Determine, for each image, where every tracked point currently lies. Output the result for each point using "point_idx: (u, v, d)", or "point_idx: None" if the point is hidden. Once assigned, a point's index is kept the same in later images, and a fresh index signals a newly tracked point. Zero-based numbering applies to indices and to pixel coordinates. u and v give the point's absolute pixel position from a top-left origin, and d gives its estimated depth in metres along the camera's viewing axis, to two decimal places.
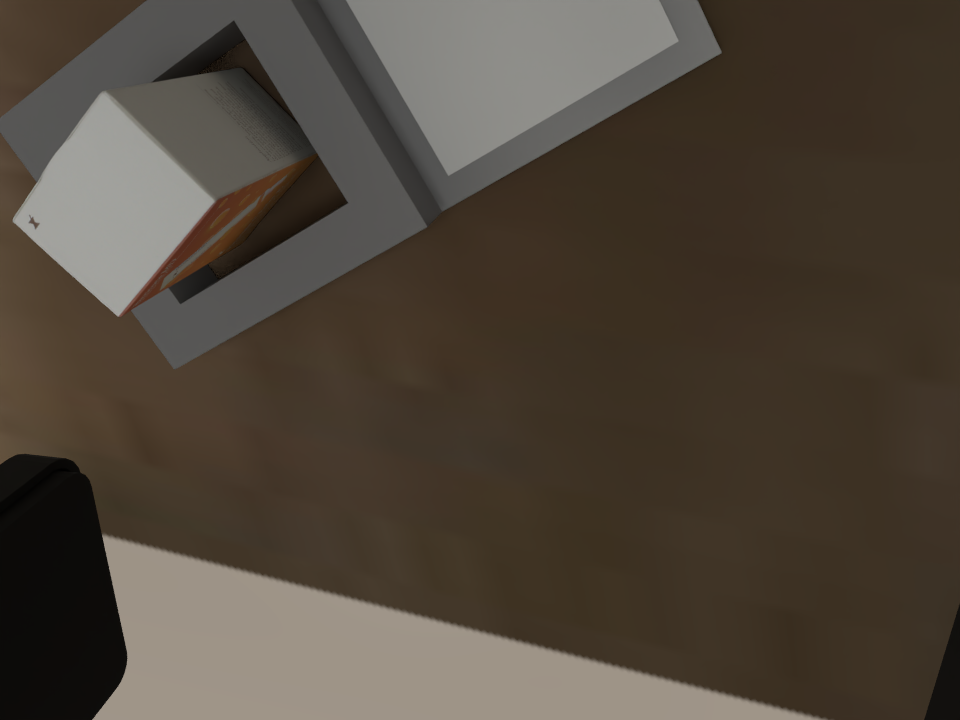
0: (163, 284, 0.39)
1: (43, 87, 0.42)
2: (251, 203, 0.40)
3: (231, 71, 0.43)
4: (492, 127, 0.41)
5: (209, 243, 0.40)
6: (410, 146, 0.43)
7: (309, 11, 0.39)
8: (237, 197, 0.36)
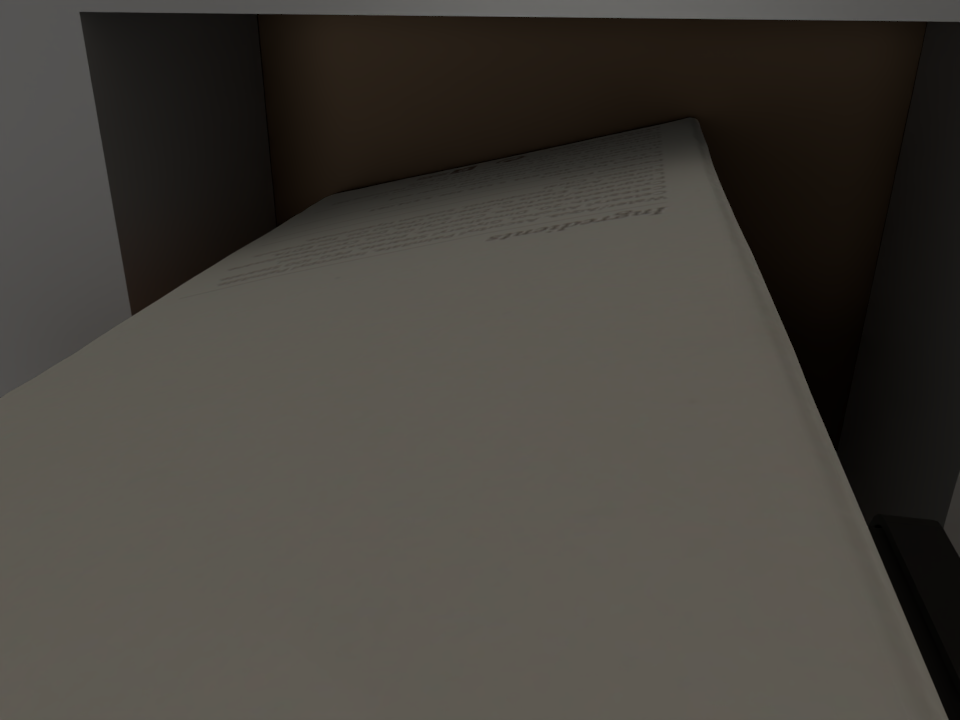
0: None
1: None
2: None
3: None
4: None
5: None
6: None
7: None
8: None
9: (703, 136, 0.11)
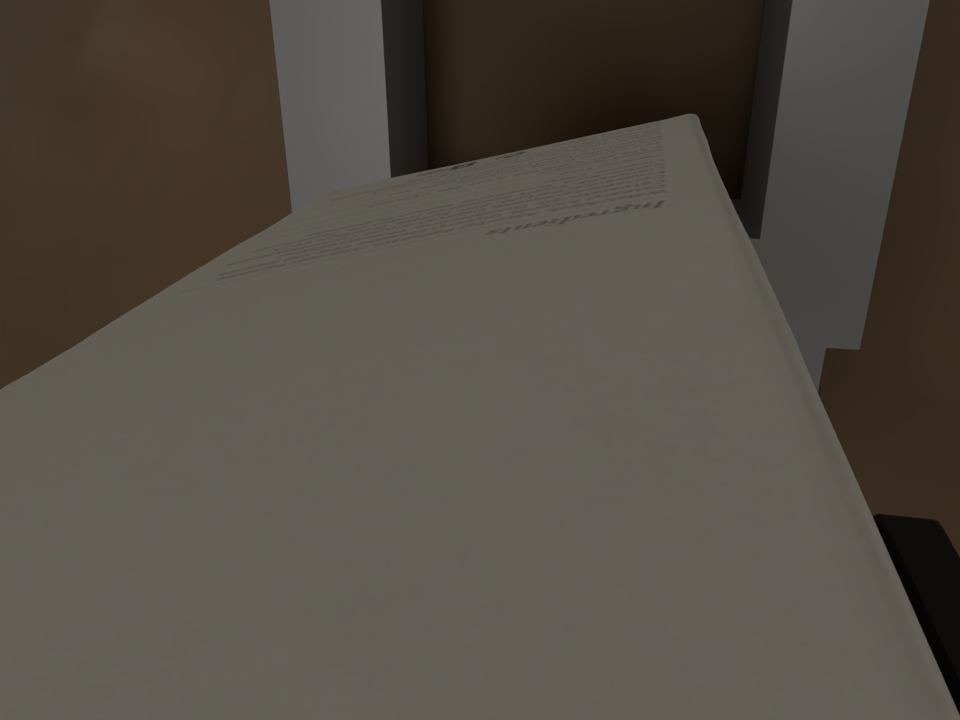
0: None
1: None
2: None
3: None
4: None
5: None
6: None
7: None
8: None
9: None
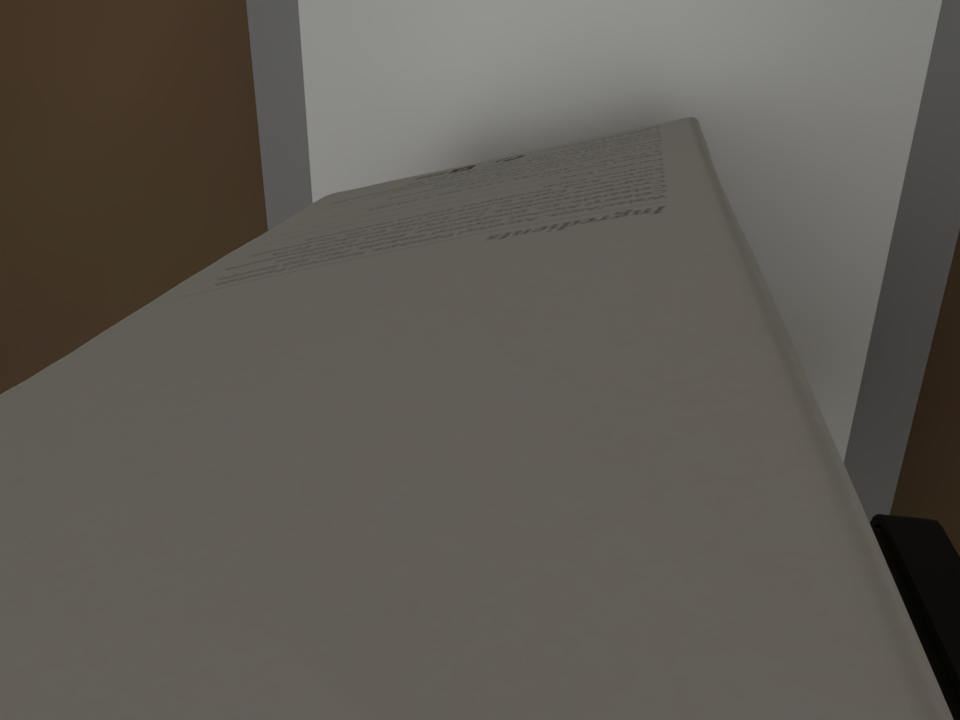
0: None
1: None
2: None
3: None
4: (348, 148, 0.19)
5: None
6: None
7: None
8: None
9: (703, 135, 0.11)
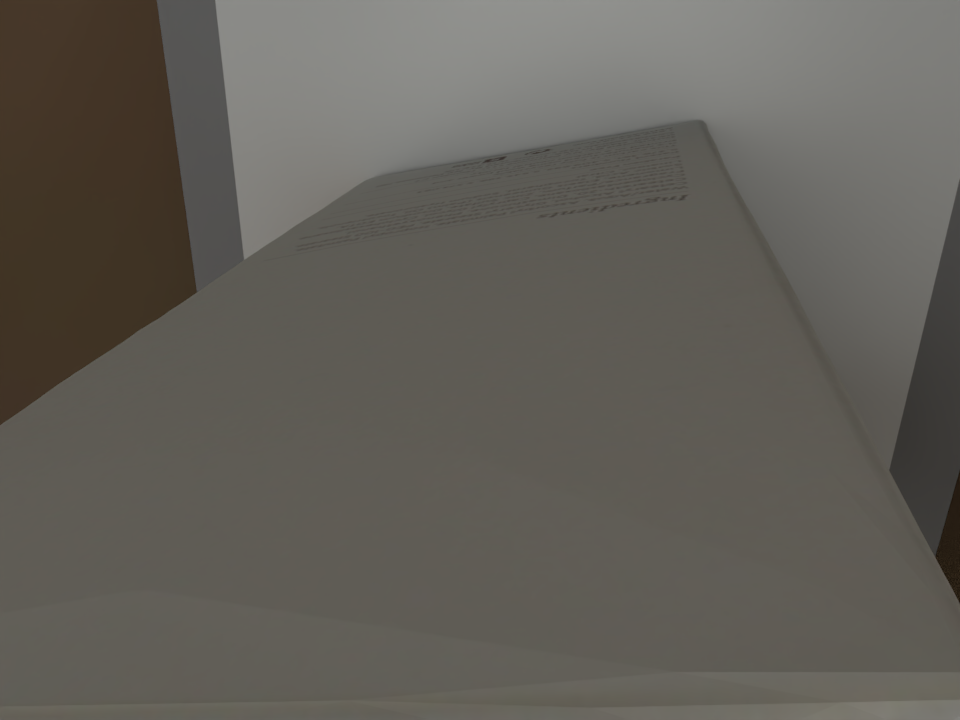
0: None
1: None
2: None
3: None
4: (280, 166, 0.16)
5: None
6: None
7: None
8: None
9: None
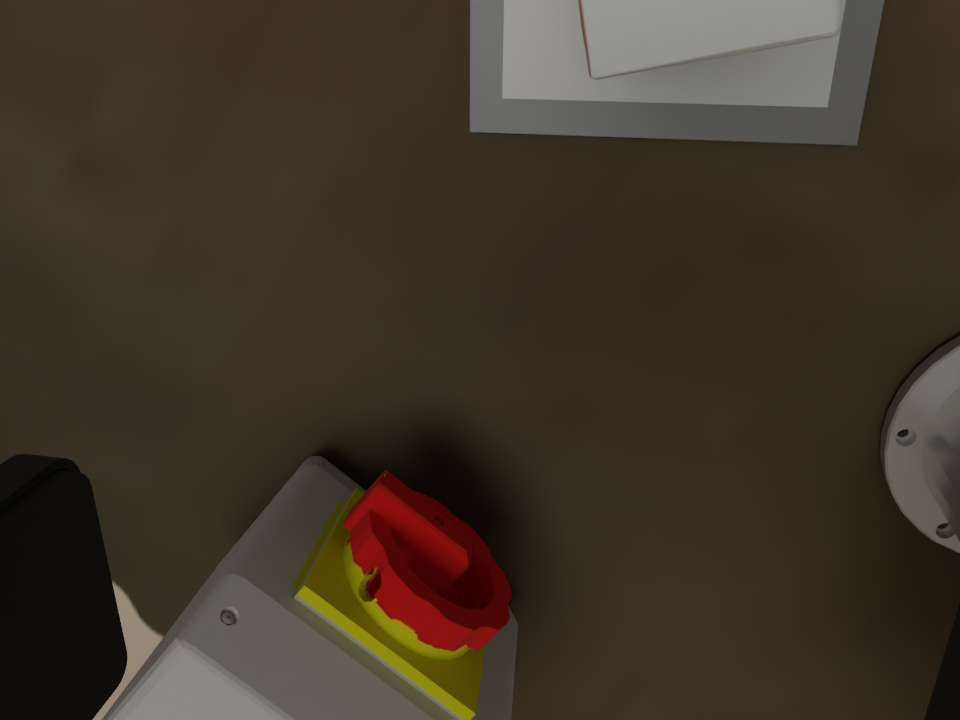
0: None
1: None
2: None
3: None
4: None
5: None
6: None
7: None
8: None
9: None
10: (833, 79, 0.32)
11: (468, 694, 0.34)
